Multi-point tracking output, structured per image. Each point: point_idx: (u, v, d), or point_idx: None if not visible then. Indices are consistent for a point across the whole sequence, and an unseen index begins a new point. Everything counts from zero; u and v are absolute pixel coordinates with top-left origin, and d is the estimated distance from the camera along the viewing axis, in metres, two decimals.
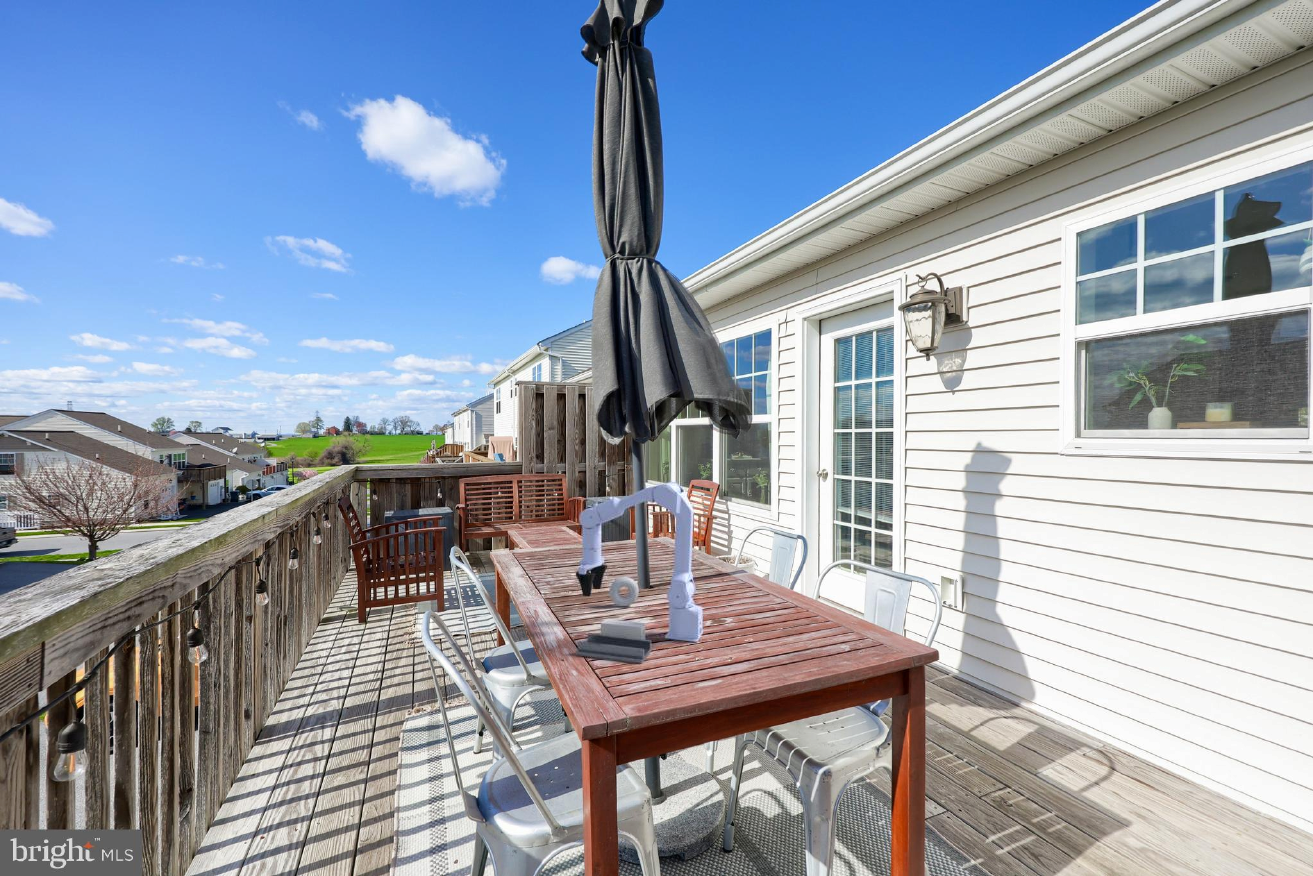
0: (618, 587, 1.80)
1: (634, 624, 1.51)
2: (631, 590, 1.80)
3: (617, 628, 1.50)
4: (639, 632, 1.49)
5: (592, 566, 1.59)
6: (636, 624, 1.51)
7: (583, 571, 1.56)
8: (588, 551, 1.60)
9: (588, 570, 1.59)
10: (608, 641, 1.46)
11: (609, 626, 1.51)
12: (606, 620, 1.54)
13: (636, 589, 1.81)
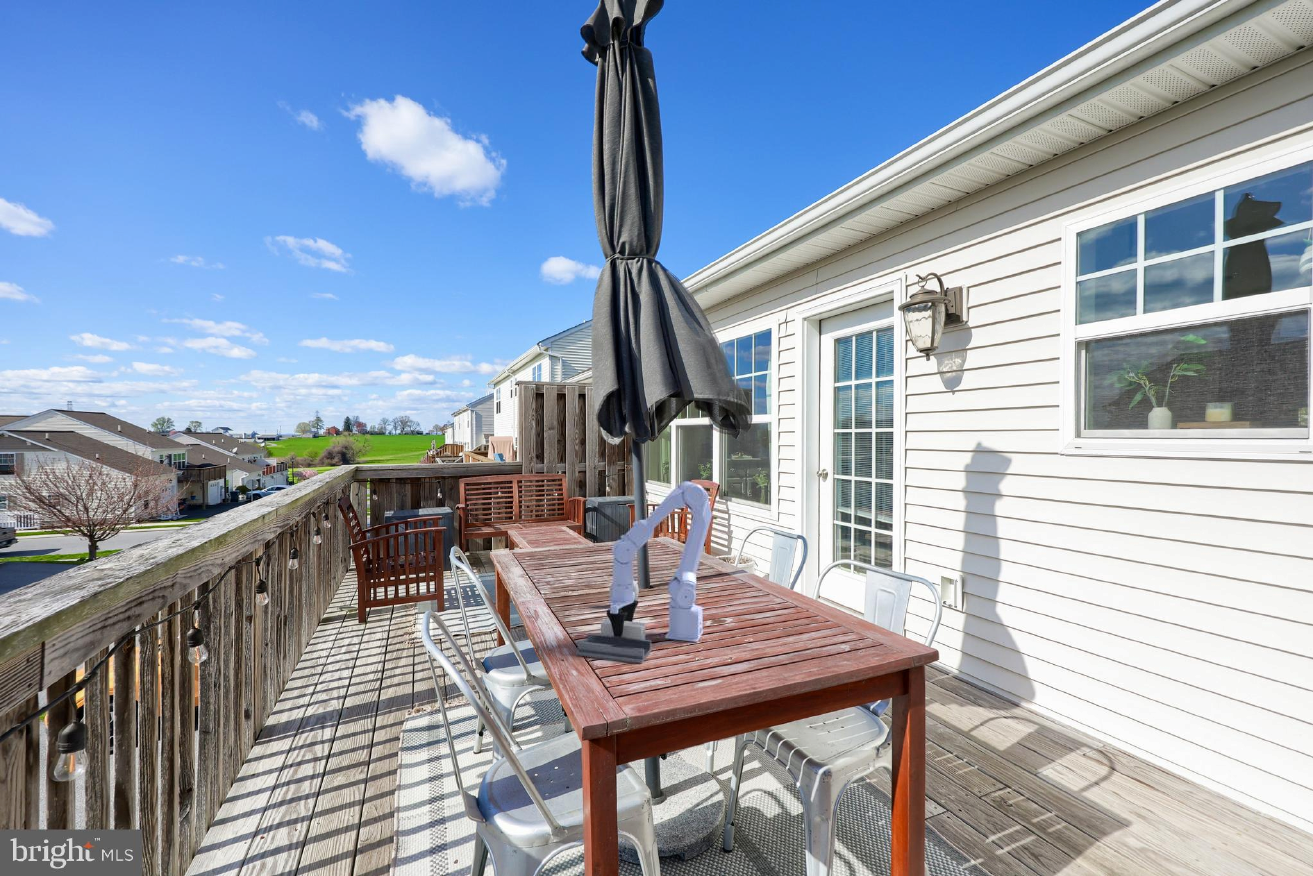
0: None
1: (634, 624, 1.51)
2: None
3: None
4: (639, 632, 1.49)
5: (624, 604, 1.48)
6: (636, 624, 1.51)
7: (615, 610, 1.45)
8: (619, 588, 1.49)
9: (620, 608, 1.48)
10: (608, 641, 1.46)
11: (609, 626, 1.51)
12: (606, 620, 1.54)
13: (636, 589, 1.81)
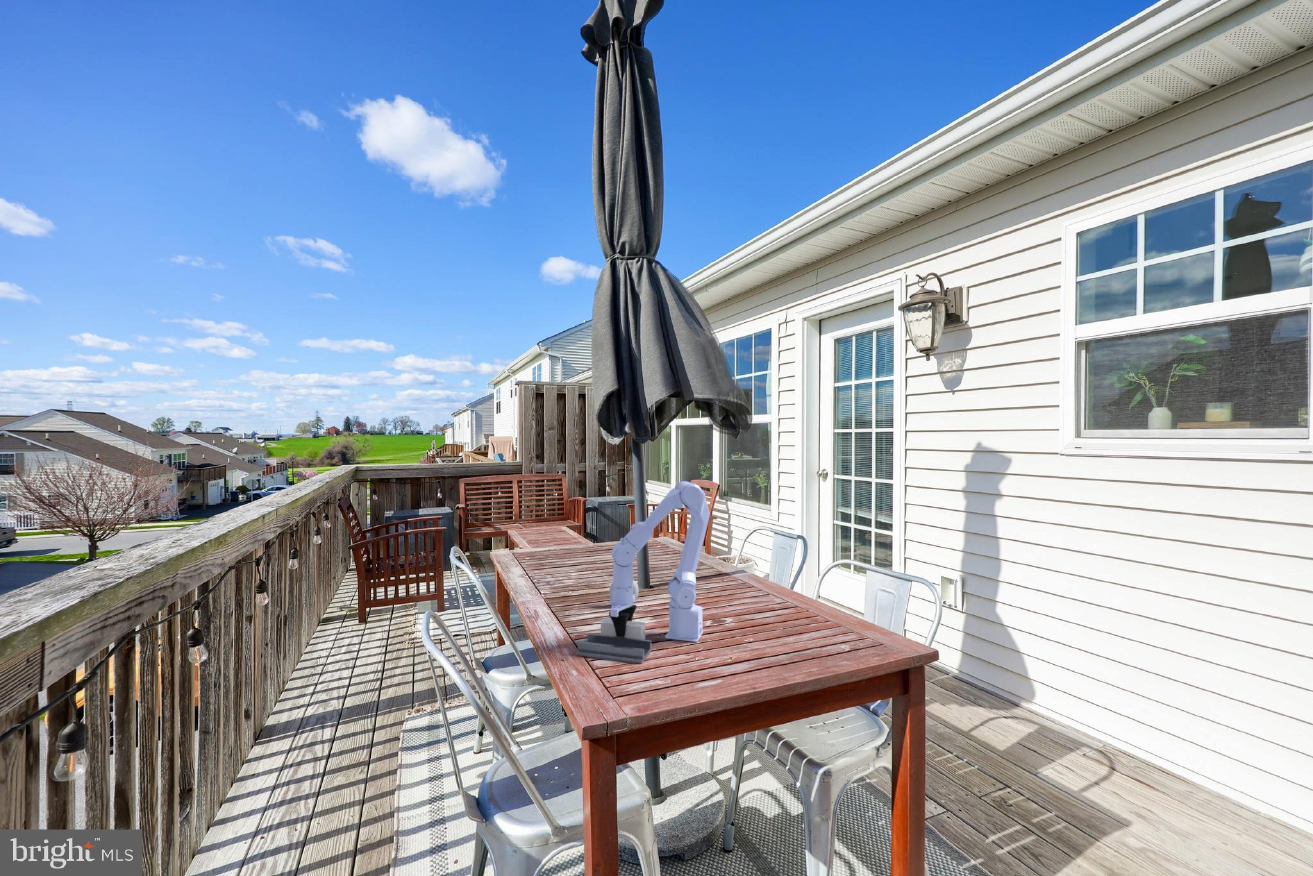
0: None
1: (634, 624, 1.51)
2: None
3: None
4: (639, 632, 1.49)
5: (624, 607, 1.48)
6: (636, 623, 1.51)
7: (615, 613, 1.45)
8: (619, 591, 1.49)
9: (620, 611, 1.48)
10: (608, 641, 1.46)
11: (609, 626, 1.51)
12: (606, 620, 1.54)
13: (636, 589, 1.81)
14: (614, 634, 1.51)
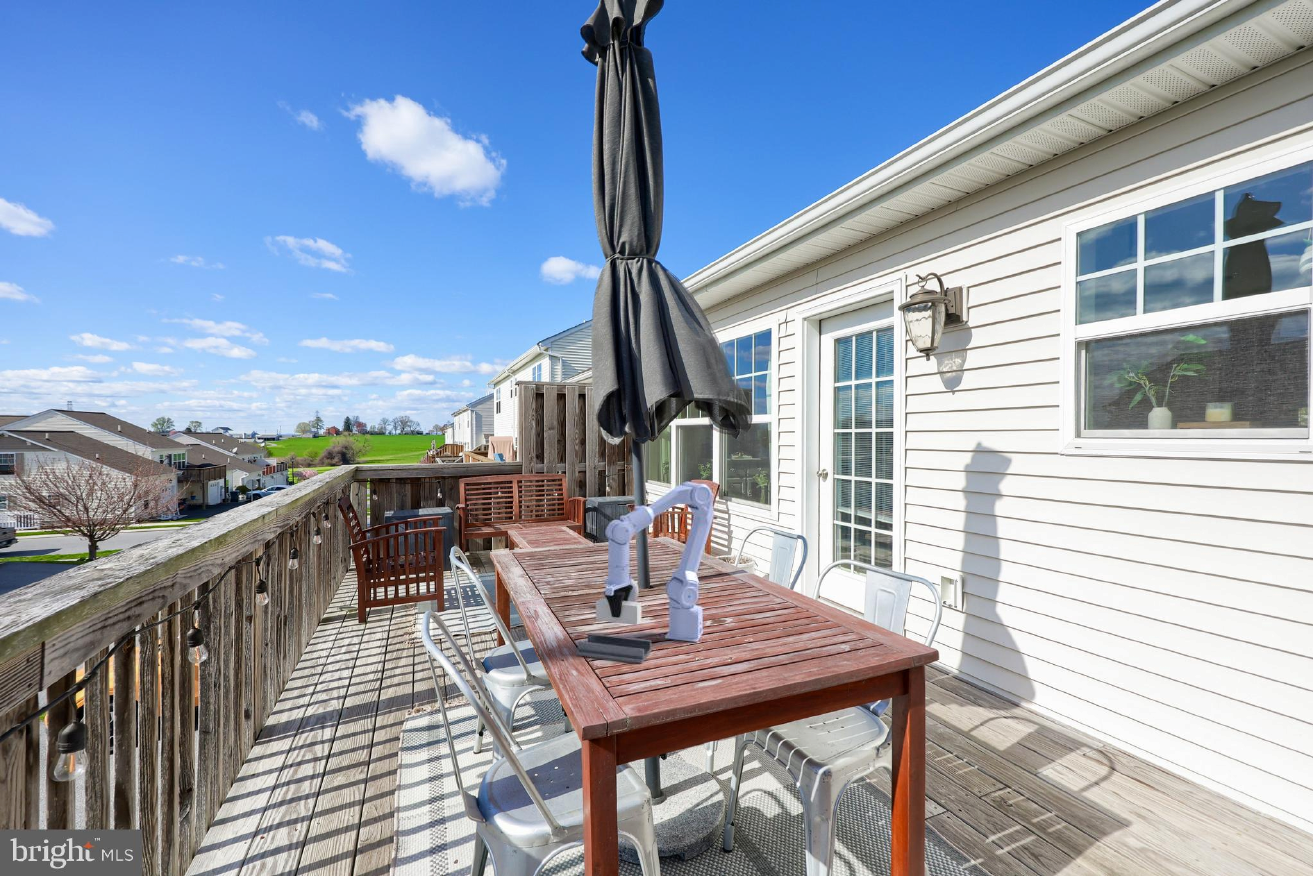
0: None
1: (630, 603, 1.46)
2: None
3: None
4: (635, 611, 1.44)
5: (620, 586, 1.43)
6: (632, 603, 1.46)
7: (610, 592, 1.40)
8: (615, 569, 1.45)
9: (615, 590, 1.43)
10: (608, 641, 1.46)
11: (604, 606, 1.47)
12: (602, 599, 1.50)
13: (636, 589, 1.81)
14: (609, 614, 1.46)
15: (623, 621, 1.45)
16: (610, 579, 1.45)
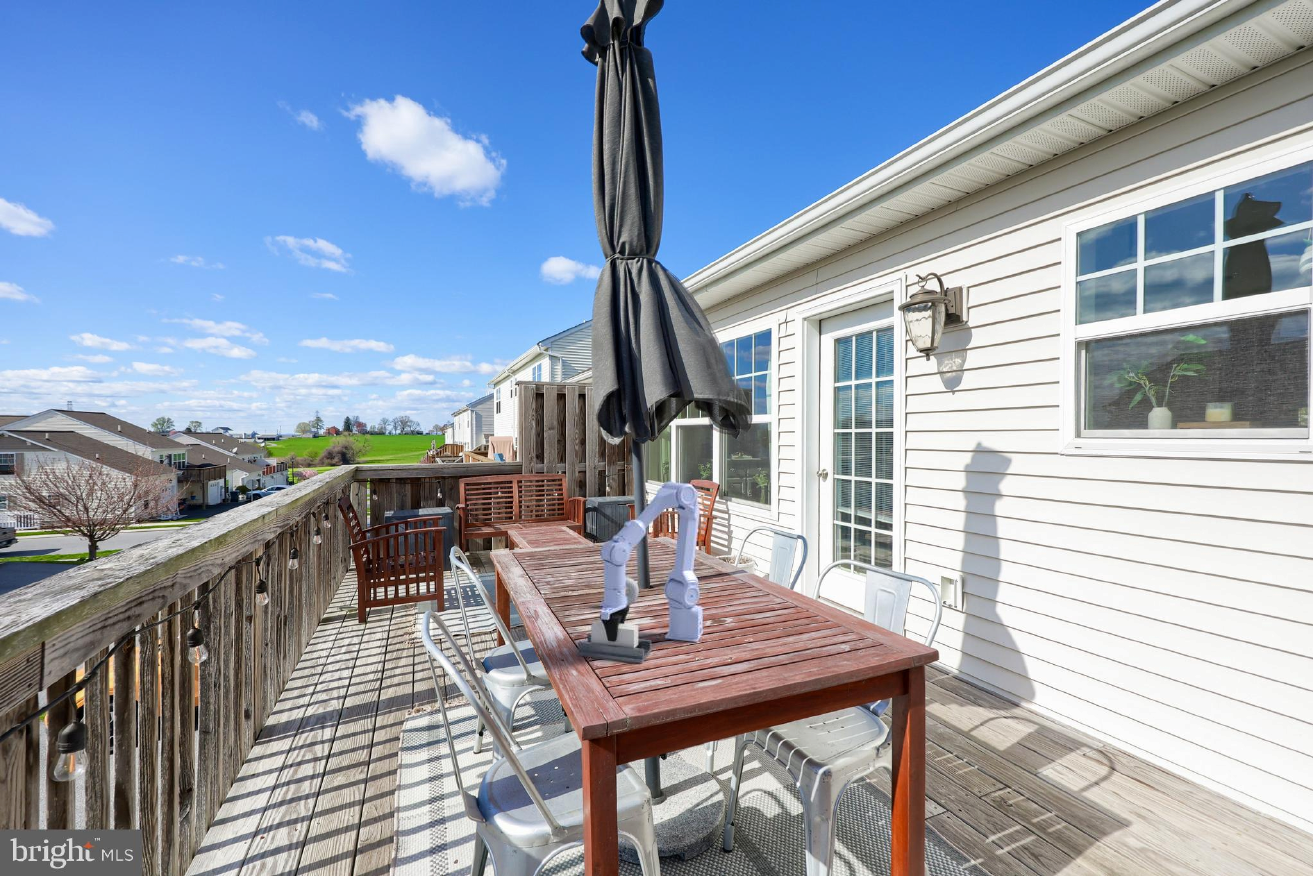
0: None
1: (626, 626, 1.42)
2: (631, 590, 1.80)
3: None
4: (631, 635, 1.40)
5: (616, 609, 1.39)
6: (629, 626, 1.42)
7: (606, 616, 1.36)
8: (611, 592, 1.40)
9: (611, 614, 1.39)
10: None
11: (600, 629, 1.42)
12: (597, 622, 1.45)
13: (636, 589, 1.81)
14: (605, 638, 1.42)
15: (619, 645, 1.41)
16: (606, 602, 1.41)
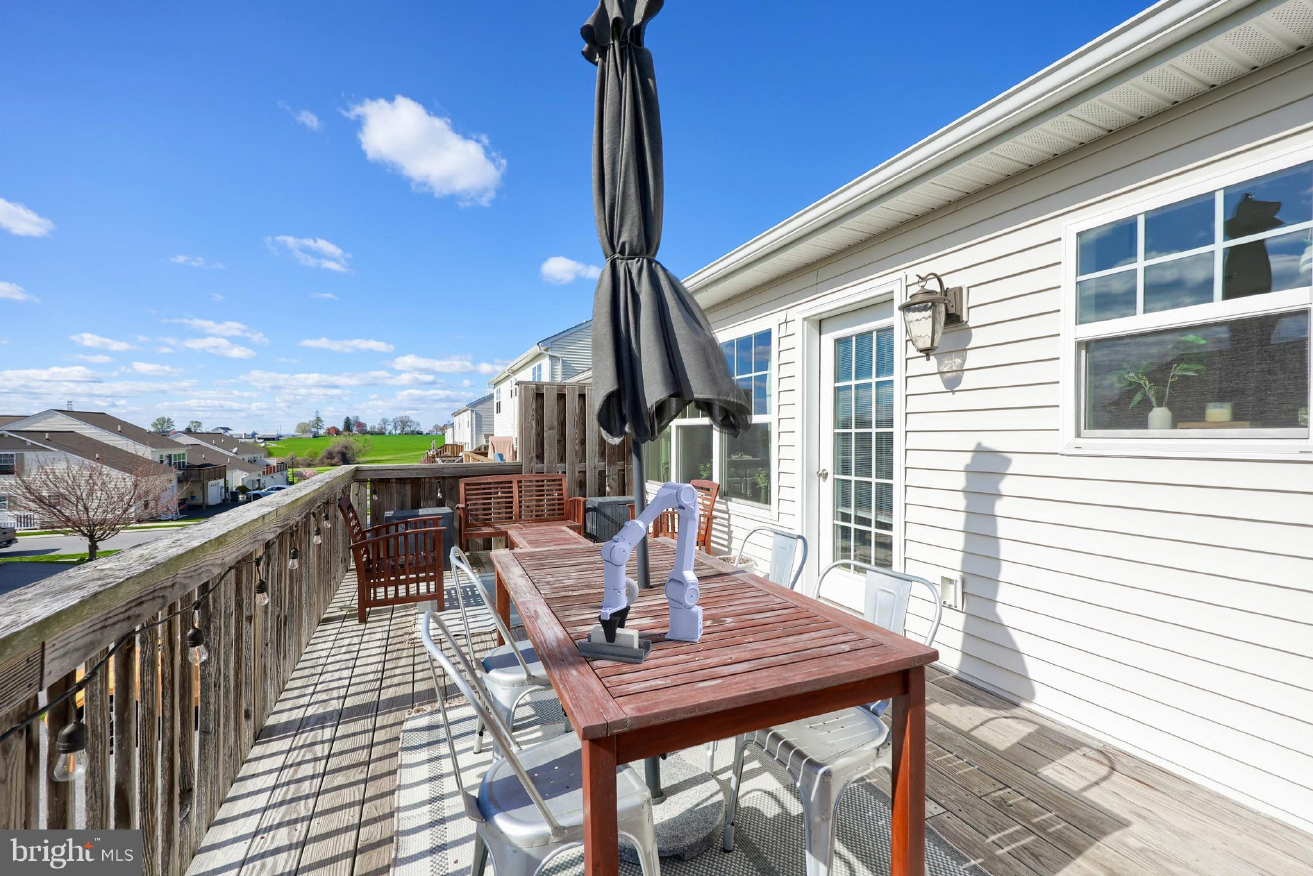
0: None
1: (626, 631, 1.42)
2: (631, 590, 1.80)
3: None
4: (631, 640, 1.40)
5: (616, 609, 1.39)
6: (629, 631, 1.42)
7: (606, 616, 1.36)
8: (611, 592, 1.40)
9: (611, 614, 1.39)
10: None
11: (600, 634, 1.42)
12: (597, 627, 1.45)
13: (636, 589, 1.81)
14: (605, 642, 1.42)
15: None
16: (606, 602, 1.41)
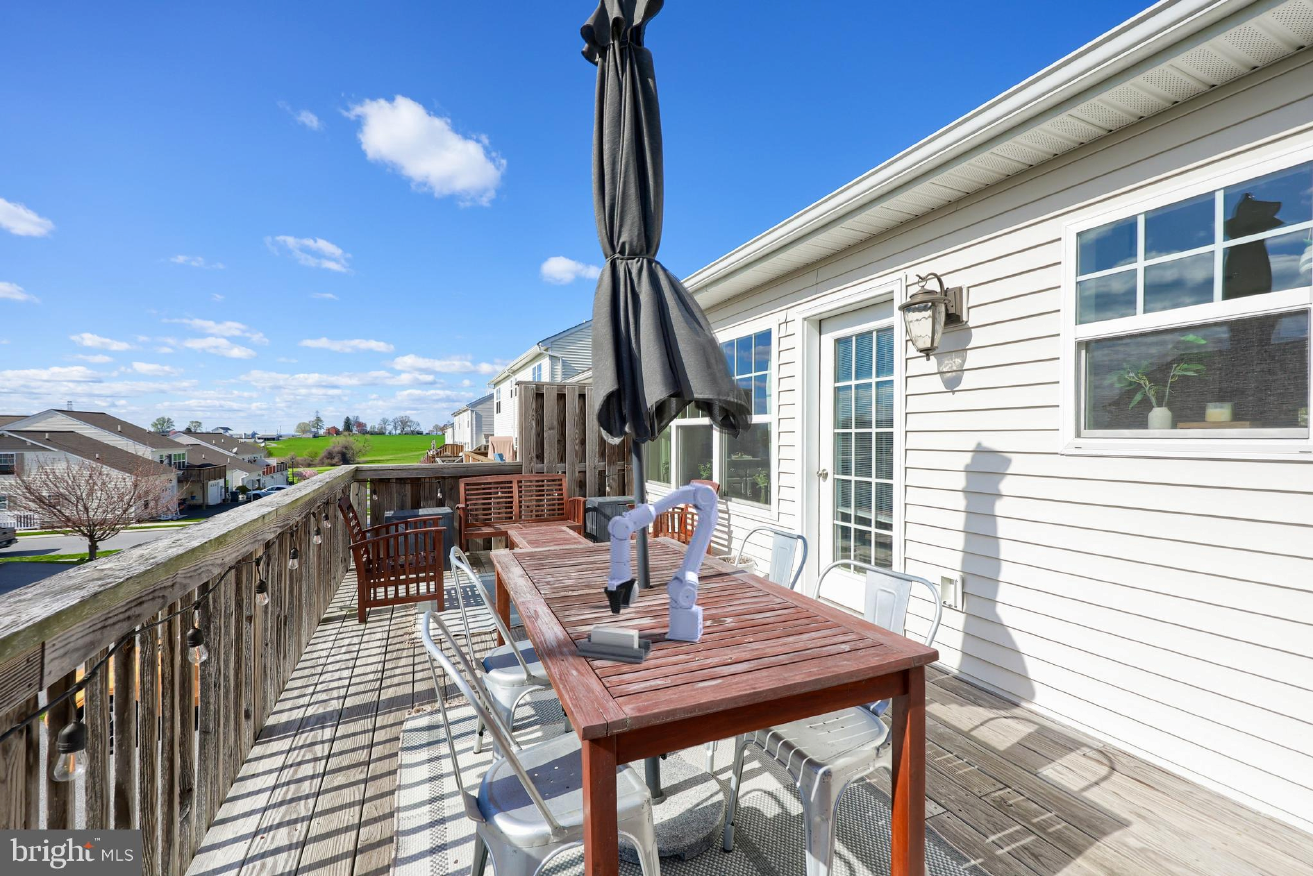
0: None
1: (626, 631, 1.42)
2: None
3: (608, 635, 1.42)
4: (631, 640, 1.40)
5: (622, 581, 1.46)
6: (629, 631, 1.42)
7: (613, 587, 1.43)
8: (617, 564, 1.47)
9: (617, 585, 1.46)
10: None
11: (600, 634, 1.42)
12: (597, 627, 1.45)
13: (636, 589, 1.81)
14: (605, 642, 1.42)
15: None
16: (612, 574, 1.48)
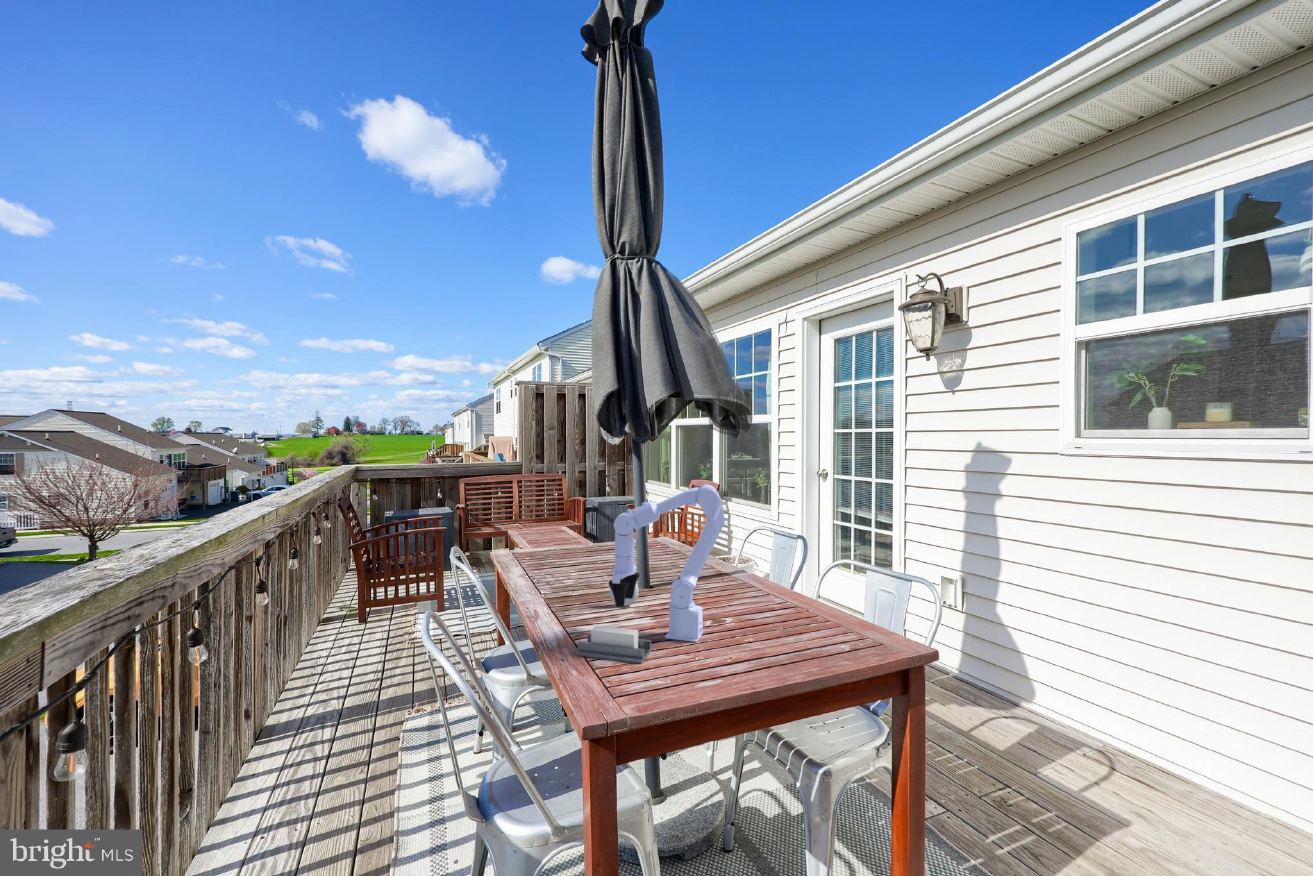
0: None
1: (626, 631, 1.42)
2: None
3: (608, 635, 1.42)
4: (631, 640, 1.40)
5: (626, 575, 1.52)
6: (629, 631, 1.42)
7: (617, 580, 1.49)
8: (621, 559, 1.53)
9: (621, 579, 1.52)
10: None
11: (600, 634, 1.42)
12: (597, 627, 1.45)
13: (636, 589, 1.81)
14: (605, 642, 1.42)
15: None
16: (616, 568, 1.54)
